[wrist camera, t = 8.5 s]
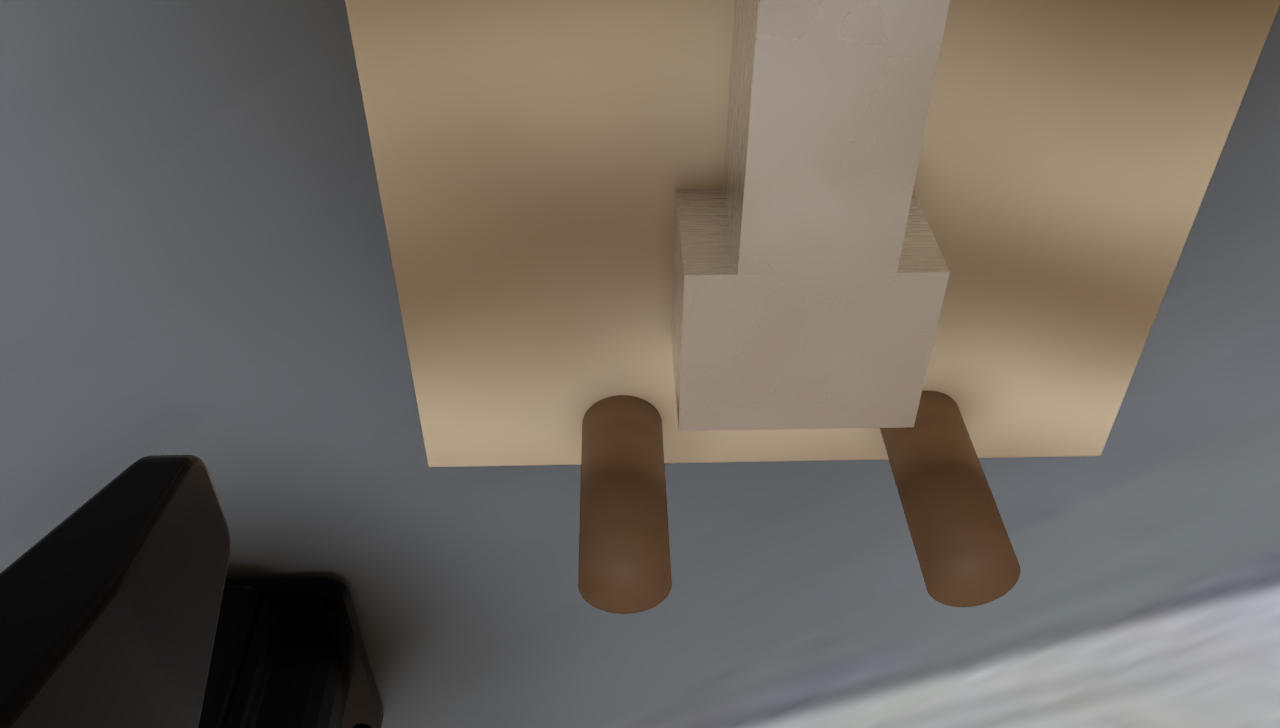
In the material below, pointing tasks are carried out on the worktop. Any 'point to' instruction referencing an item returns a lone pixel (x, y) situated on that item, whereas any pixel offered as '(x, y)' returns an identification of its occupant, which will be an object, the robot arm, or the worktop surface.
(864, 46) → the beige stepped post
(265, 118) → the worktop surface
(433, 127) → the peg board
